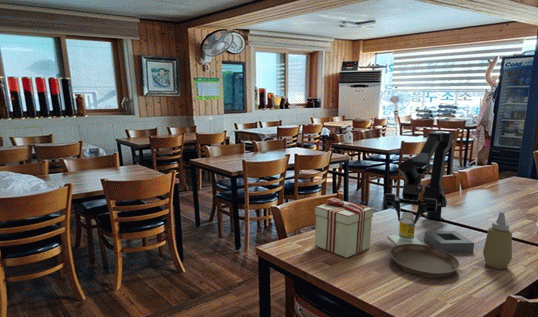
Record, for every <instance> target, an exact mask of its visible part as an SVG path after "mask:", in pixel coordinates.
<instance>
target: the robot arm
mask: <svg viewBox="0 0 538 317" xmlns="http://www.w3.org/2000/svg"><path fill="white" fill-rule="evenodd" d="M454 139H455V137H454V134H453V133H452V132H451V131H441V130H439V131H438V130H435V131H430V132H428V134H427V138H426V140H425V142H424V145H423V146H422V148H421V150H420V152H419V153H418V154H417V155H415V156H413V158H409V157H408V158H407V159H406V160H404V161H402V162H401V163H399V165H398V169H399V171H400V173H401V175H402V177H403V179H404V180H405V184H403V186H402V192H401V196H402V198H401V197H399V196H396V195H397V194H395V193H386V192H385V194H384V195H383V200H384V205H385V206H387V207H392V208H393V209H395V211H396V215H397V220H398V222H400V219H401V213H402V212H401V210H402V208H401V204H403V205H409V206H410V205H411V206H417V211H416V214H415V215H414V216H415V217H414V220H415V221H414V224H415V225H417V222H418V221H419V220H420V219H421V217H422V216H424V217H425V218H426V219H428V220H430V221H443V220H445V218H444V217H442V209H443V208H446V207H447V204H448V200H447V198H446V197H447V196H446V194H445V188H444V186H443V184H442V183H443V176H444V171H445V170H444V169H445V164H446V163H445V162H446V155H447V152H448V150H450V148H452V144H453V142H454ZM432 157H433V160H432ZM431 160H432V164H431ZM430 172H431V173H430ZM429 173H430V174H431V176H430V180H429V183H427V185H425V187H424V184H422V176H421V175H423V176H427V175H428V174H429ZM420 194H422V199H423V200H420V199H419V198H420Z"/></svg>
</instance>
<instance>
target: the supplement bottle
mask: <svg viewBox="0 0 538 317" xmlns="http://www.w3.org/2000/svg"><path fill="white" fill-rule="evenodd" d="M414 221H415V218H414V213H413V212H408V211H405V212H404V211H403V212H401V217H400V221H399V229H398V232H399V233H398V235H399V237H400V238H401V239H404V240H413V239H414V236H415V228H416V224H414Z"/></svg>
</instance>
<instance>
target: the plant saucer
mask: <svg viewBox="0 0 538 317" xmlns="http://www.w3.org/2000/svg"><path fill="white" fill-rule="evenodd" d="M389 252H390V253H389V254H390V256H391V258H392V260H393V261H394V263H396V265H397V266H398V267H399V268H401V269H402V270H404V271H406V272H407V273H409V274H412V275H416V276H419V277H423V278H431V279H432V278H436V279H439V278H444V277H447V276H450V275H452V274H453V273H455V272H456V271H457V270H458V269H459V267H460V265H461V264H460V261H459V259H458V258H456V257H455V255H453V254H451V253H448V252H446V251H443V250H441V249H438V248H435V247H433V246H431V245H426V244H424V245H420V244H402V245H395V246H393V247H391V249H390V251H389Z"/></svg>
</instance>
